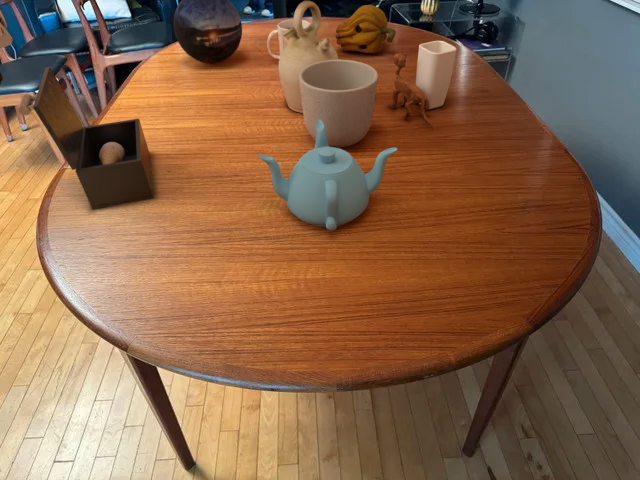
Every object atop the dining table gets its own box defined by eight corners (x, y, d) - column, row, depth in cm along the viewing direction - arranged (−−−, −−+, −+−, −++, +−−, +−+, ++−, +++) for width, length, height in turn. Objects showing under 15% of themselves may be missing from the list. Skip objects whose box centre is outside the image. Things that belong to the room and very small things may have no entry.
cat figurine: (444, 128, 112) (454, 72, 103) (422, 134, 110) (430, 78, 101) (401, 99, 124) (407, 46, 115) (380, 104, 122) (384, 51, 113)
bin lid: (49, 66, 88) (20, 74, 88) (37, 106, 76) (3, 115, 75) (82, 124, 97) (56, 132, 96) (76, 168, 85) (46, 177, 84)
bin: (149, 153, 106) (138, 118, 100) (153, 197, 93) (141, 160, 87) (95, 163, 103) (81, 127, 97) (92, 209, 91) (75, 171, 85)
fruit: (353, 45, 160) (409, 33, 150) (337, 68, 151) (396, 57, 141) (340, 4, 151) (399, -11, 142) (323, 26, 142) (385, 11, 132)
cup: (449, 107, 120) (459, 49, 110) (425, 113, 118) (434, 54, 108) (432, 96, 125) (440, 39, 115) (409, 102, 123) (416, 44, 113)
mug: (301, 70, 139) (299, 32, 132) (266, 64, 143) (263, 27, 136) (316, 58, 146) (315, 21, 139) (283, 53, 150) (280, 16, 143)
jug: (271, 99, 125) (262, -2, 108) (321, 86, 131) (319, -12, 114) (298, 123, 115) (292, 15, 98) (350, 108, 121) (353, 3, 104)
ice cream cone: (123, 176, 89) (130, 153, 102) (106, 156, 86) (116, 135, 99) (102, 189, 89) (112, 164, 102) (85, 169, 86) (97, 146, 99)
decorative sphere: (259, 58, 148) (251, -12, 134) (211, 79, 136) (198, 5, 123) (216, 45, 157) (205, -22, 144) (168, 63, 145) (151, -7, 132)
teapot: (317, 169, 100) (316, 116, 92) (392, 199, 91) (398, 144, 83) (263, 209, 90) (256, 154, 82) (342, 248, 81) (343, 190, 73)
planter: (383, 151, 105) (388, 86, 94) (309, 161, 102) (306, 95, 92) (362, 117, 117) (365, 56, 107) (296, 124, 115) (292, 63, 104)
